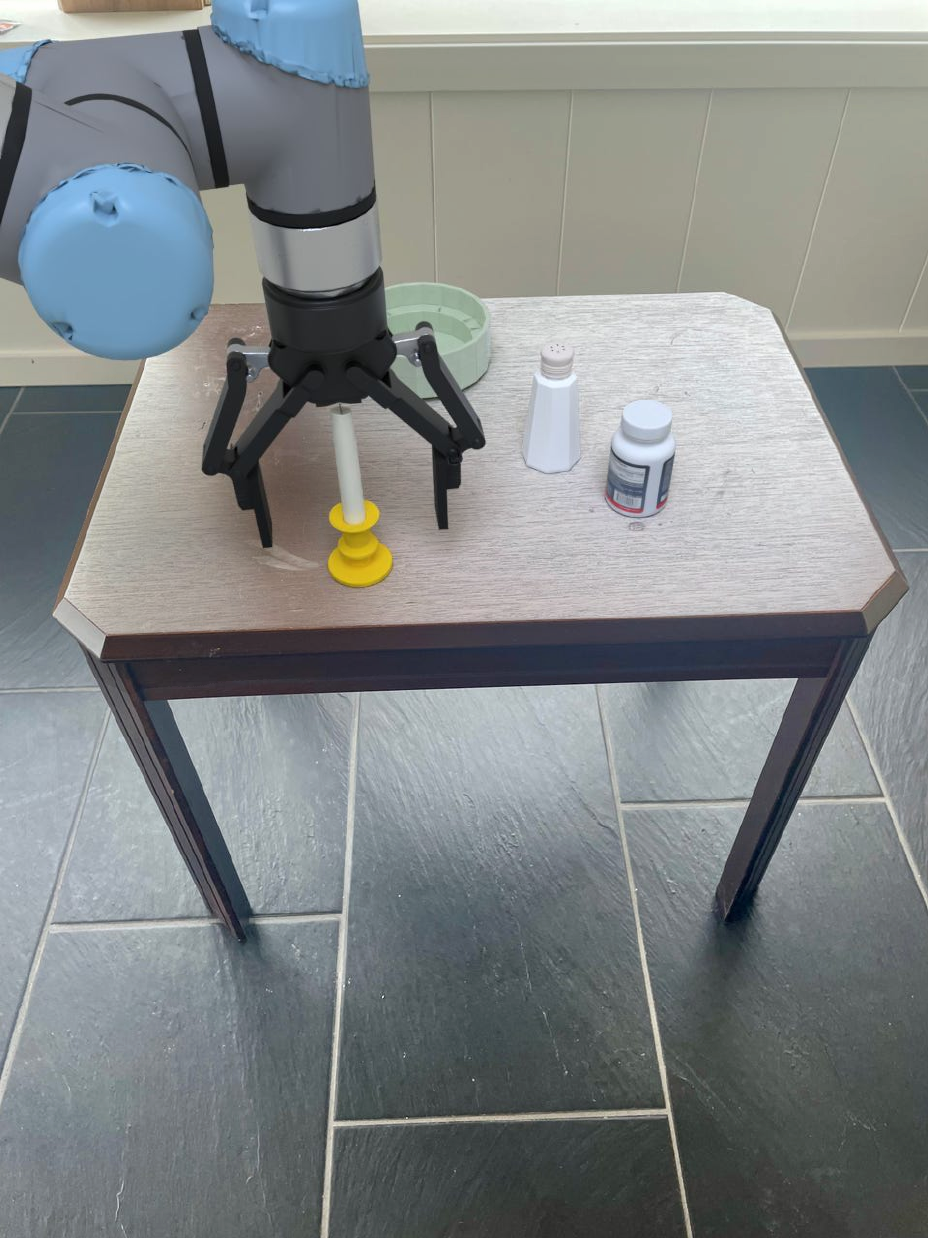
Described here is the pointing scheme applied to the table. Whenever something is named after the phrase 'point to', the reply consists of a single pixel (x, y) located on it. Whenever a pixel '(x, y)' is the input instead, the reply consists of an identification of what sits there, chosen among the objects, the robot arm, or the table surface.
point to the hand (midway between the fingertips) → (355, 527)
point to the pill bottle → (641, 459)
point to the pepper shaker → (553, 412)
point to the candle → (354, 514)
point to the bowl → (441, 330)
